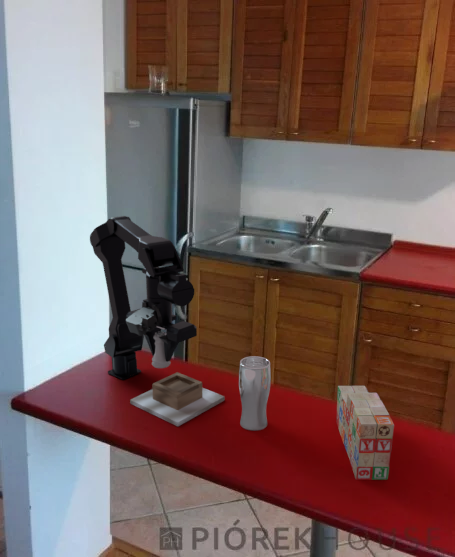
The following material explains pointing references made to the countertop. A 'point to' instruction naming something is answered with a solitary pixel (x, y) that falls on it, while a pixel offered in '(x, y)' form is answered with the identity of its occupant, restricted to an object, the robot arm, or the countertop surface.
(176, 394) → the board
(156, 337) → the rook chess piece
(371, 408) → the stack of blocks
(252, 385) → the beer glass
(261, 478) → the countertop surface
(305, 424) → the countertop surface
